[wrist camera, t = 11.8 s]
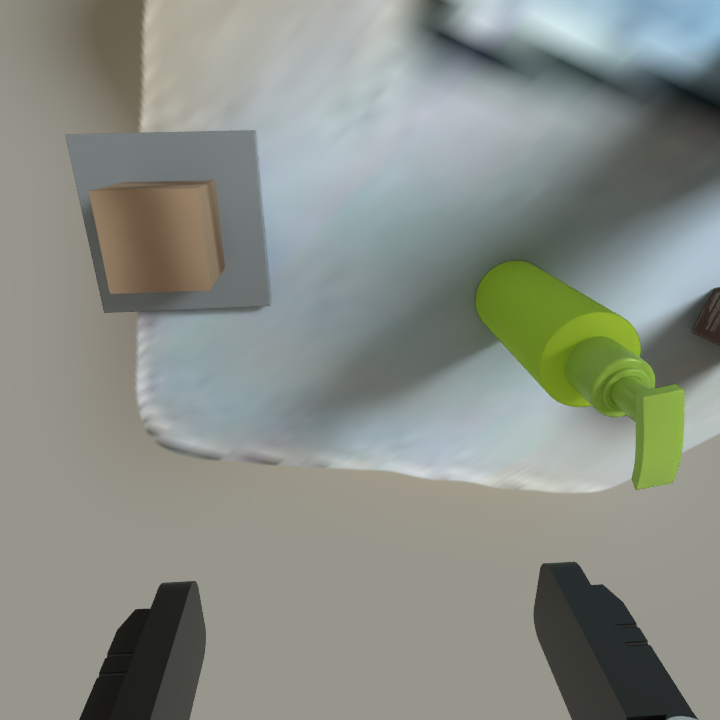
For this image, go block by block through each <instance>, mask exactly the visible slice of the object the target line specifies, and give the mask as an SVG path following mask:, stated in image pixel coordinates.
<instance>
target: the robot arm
mask: <svg viewBox="0 0 720 720" xmlns="http://www.w3.org/2000/svg"><path fill="white" fill-rule="evenodd" d="M534 624H535V629H536V633H537V636H538V639H539V642H540V644H541V647H542V649H543V652H544V654H545V656H546V659H547V661H548V664H549V666H550V668H551V671H552V673H553V675H554V678H555V680H556V683H557V685H558V687H559V690H560V692H561V694H562V697H563V699H564V702H565V704H566V706H567V708H568V711H569V713H570V716H571V718H572V720H698V719H697V717H696V716H695V714H694V713H693V712H692V710H691V709H690V707H689V705H688V704H687V702H686V701H685V699H684V698H683V696H682V695H681V693H680V692H679V690H678V688H677V687H676V685H675V683H674V682H673V680H672V679H671V677H670V676H669V674H668V672H667V671H666V670H665V668H664V666H663V664H662V663H661V661H660V660H659V658H658V657H657V655H656V654H655V652H654V651H653V649H652V647H651V646H650V645H648V643H647V639H646V638H645V636H644V635H643V633H642V631H641V630H640V628H637V626H636V622H635V620H634V619H633V617H632V616H631V614H630V612H629V611H628V609H627V608H626V606H625V605H624V603H623V602H622V601H621V600H620V599H619V598H617V597H616V596H615V595H614V594H613V593H612V592H610V591H609V590H608V589H607V588H606V587H605V586H604V585H591V584H590V583H589V581H588V579H587V577H586V576H585V574H584V572H583V571H582V569H581V567H580V566H579V565H578V564H577V563H576V562H564V563H544V564H542V566H541V568H540V574H539V580H538V587H537V593H536V599H535V606H534ZM205 645H206V631H205V623H204V618H203V612H202V607H201V601H200V595H199V589H198V585H197V583H196V581H188V582H171V583H170V582H169V583H162V584H161V585H160V586H159V588H158V591H157V593H156V596H155V599H154V601H153V604H152V607H151V609H136V610H135V611H134V612H133V613H132V614H131V615H130V616H129V617H128V619H127V620H126V621H125V622H124V623H123V624H122V625H121V627H120V628H119V629H118V630H117V632H116V634H115V637H114V639H113V642H112V644H111V647H110V649H109V651H108V655H107V658H106V659H105V660H104V663H103V665H102V667H101V670H100V673H99V678H97V679H96V682H95V684H94V686H93V689H92V691H91V693H90V696H89V698H88V700H87V703H86V705H85V707H84V710H83V712H82V715H81V717H80V719H79V720H189V719H190V714H191V710H192V706H193V701H194V697H195V693H196V689H197V685H198V680H199V676H200V672H201V668H202V664H203V659H204V654H205Z"/></svg>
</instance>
